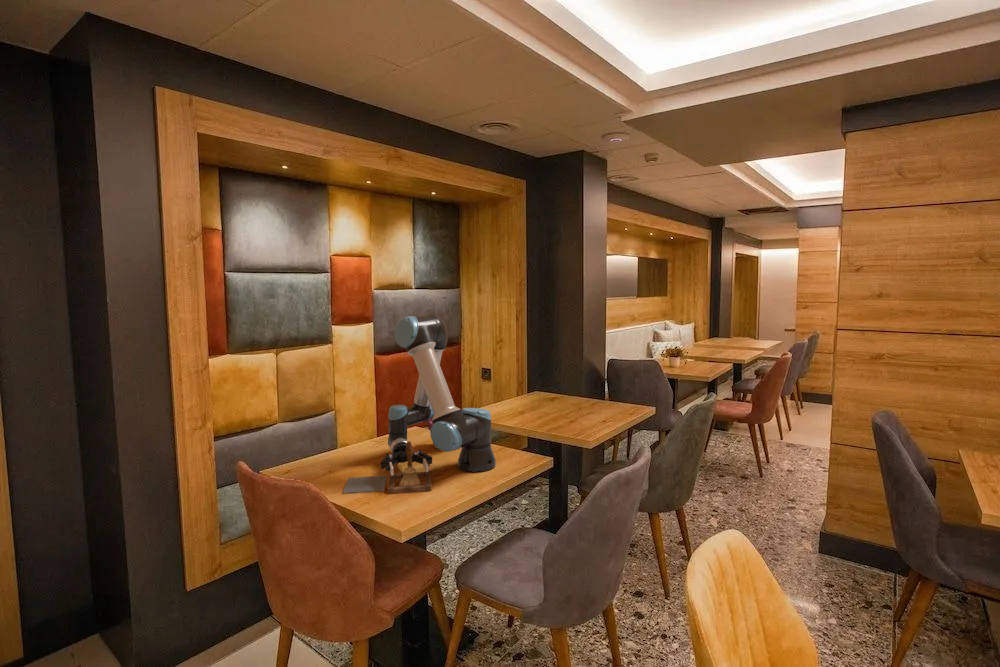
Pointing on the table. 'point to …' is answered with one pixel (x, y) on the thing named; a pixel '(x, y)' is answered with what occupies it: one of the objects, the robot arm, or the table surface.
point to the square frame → (410, 488)
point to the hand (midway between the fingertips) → (410, 470)
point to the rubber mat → (365, 484)
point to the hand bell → (409, 470)
